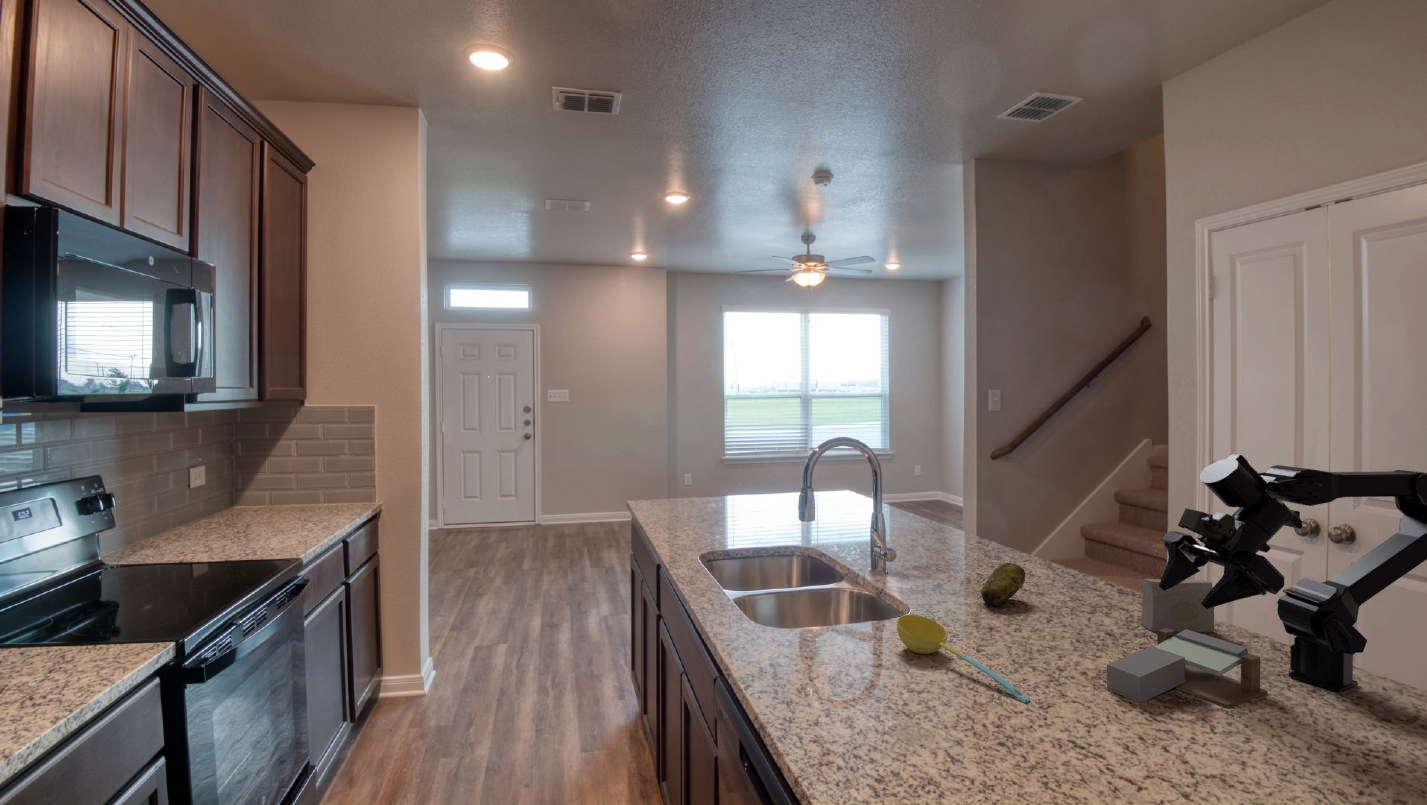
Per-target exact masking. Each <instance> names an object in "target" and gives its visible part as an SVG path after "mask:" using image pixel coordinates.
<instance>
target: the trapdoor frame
mask: <svg viewBox="0 0 1427 805" xmlns="http://www.w3.org/2000/svg"><path fill="white" fill-rule="evenodd" d="M1156 633H1157V634H1156V635H1157V641H1156V642H1157V643H1156V644H1157V645H1158V644H1160V643H1162V642H1164V641H1166V640H1168V639H1169V638H1171V637H1173V636H1174V637H1176V634H1175V633H1176V632H1175V631H1174V630H1171V629H1167V628H1164V629H1160V630H1157V632H1156ZM1157 645H1156V646H1157ZM1173 689H1176V690H1179V691H1182V692H1185V693H1187V694H1189V695H1192V696H1194V697H1197V698H1200V699H1201V700H1202V699H1203V700H1205V701H1209V702H1211V703H1212V704H1213V703H1214V704H1215V705H1219V706H1221V707H1224V708H1226V709H1227V708H1229V707H1233V706H1236V705H1238V704H1242V703H1244V702H1246V701H1249V700H1253V699H1254V698H1255V699H1256V698H1258V697H1260V696H1263V695H1266V694H1268V690H1267V689H1265V688H1264V689H1263V688H1261V656H1258V655H1255V654H1251V653H1248V654H1247V655H1244V656H1241V664H1240V680H1238V679H1234V678H1233V677H1229V676H1225V675H1224V674H1223V675H1221V676H1218V675H1215V674H1212V673H1209V672H1206V671H1203V670H1200V669H1198V668H1195V667H1192V666H1189V665H1186V664H1185V682H1184V683H1182V684H1180V685H1178V686H1176V687H1174V688H1173Z"/></svg>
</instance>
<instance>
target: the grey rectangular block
mask: <svg viewBox="0 0 1427 805" xmlns="http://www.w3.org/2000/svg"><path fill="white" fill-rule="evenodd" d="M1184 682H1185V657H1183V656H1180V655H1177V654H1174V653H1171V652H1168V651H1165V650H1162V649H1159V648H1156V647H1155V646H1154V645H1150V646H1148V647H1145V648H1142V649H1141V650H1137V651H1136V652H1134V653H1131V654H1128V655H1126V656H1124V657H1120V658H1119V659H1116V660H1114V661H1111V662H1108V663H1107V664H1106V691H1107V690H1108V691H1109V692H1113V693H1115V694H1117V695H1120V696H1122V697H1125V698H1127V699H1130V700H1132V701H1135V702H1138V703H1139V704H1142V703H1144V702H1146V701H1149V700H1150V699H1153V698H1155V697H1157V696H1159V695H1161V694H1163V693H1166V692H1167V691H1169V690H1172V689H1175V688H1174V687H1176V686H1178V685H1180V684H1182V683H1184Z"/></svg>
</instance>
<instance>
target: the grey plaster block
mask: <svg viewBox="0 0 1427 805" xmlns="http://www.w3.org/2000/svg"><path fill="white" fill-rule="evenodd" d="M1160 581H1161V579H1160V578H1159V579H1158V578H1155V579H1153V578H1152V579H1151V578H1143V588H1142V602H1141V603H1142V604H1141V608H1142V609H1141V610H1142V612H1141V620H1140V625H1141V626H1142V627H1143V628H1145V629H1147V630H1149V631H1151V632H1153V633H1154V632H1156V633H1157V630H1160V629H1164V628H1167V629H1171V630H1174V631H1175V633H1177V632H1178V633H1180V632H1182V631H1184V630H1185V629H1187V630H1190V631H1193V632H1197V633H1214V632H1215V607H1212V608H1209V609H1206V608H1204V607H1203V606H1202V604H1201V603H1202V601H1203V600H1204V598H1205V597H1206V595H1207V594H1208V593H1209V592H1210V591H1211V589H1212V588H1213V587H1214V586H1213V583H1212V582H1211V581H1210V580H1209V581H1208V580H1205V579H1185V580H1184V581H1182V582H1180V583H1179V584H1177V585H1175V586H1173V587H1172V588H1169V589H1167V590H1165V591H1163V590H1162V589H1161V588H1160V587H1159V584H1160Z"/></svg>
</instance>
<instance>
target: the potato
mask: <svg viewBox="0 0 1427 805" xmlns="http://www.w3.org/2000/svg"><path fill="white" fill-rule="evenodd" d="M1025 581H1026V571H1025V569H1024V568H1022V567H1021V566H1020V565H1018V564H1016V563H1013V562H1012V563H1011V562H1010V563H1009V562H1005V563H1004V562H1003V563H1001V564H999V565H998V566H997V567H996V568H995V569H994V570H993V571H992V573H991V574H990V575H989V577H988V579H987V580H986V581H985V583H984V584H983V586H982V588H981V591H980V594H981V598H982V600H983V601H984V603H986V605H987V604H988V605H989V606H998V605H1000V604H1003V603H1004V602H1006V601H1008V600H1009V599H1011V598H1012V597H1013V596H1014V595H1015V594H1017V592H1018V591H1019V590H1020V589H1022V588H1023V587H1024V586H1023V585H1025V584H1024V583H1025Z"/></svg>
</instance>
